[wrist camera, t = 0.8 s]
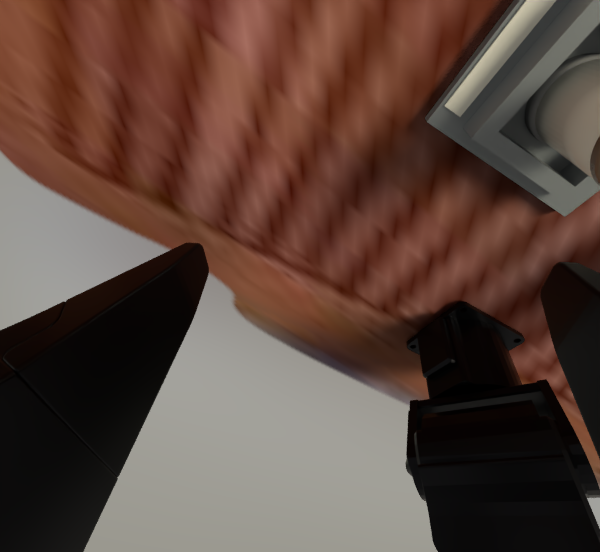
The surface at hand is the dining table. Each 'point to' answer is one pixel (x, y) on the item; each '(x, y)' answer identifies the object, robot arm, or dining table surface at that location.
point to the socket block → (521, 96)
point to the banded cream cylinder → (570, 112)
